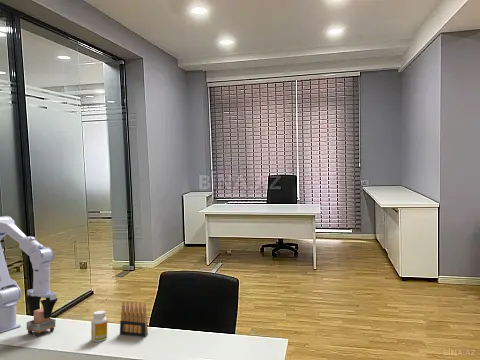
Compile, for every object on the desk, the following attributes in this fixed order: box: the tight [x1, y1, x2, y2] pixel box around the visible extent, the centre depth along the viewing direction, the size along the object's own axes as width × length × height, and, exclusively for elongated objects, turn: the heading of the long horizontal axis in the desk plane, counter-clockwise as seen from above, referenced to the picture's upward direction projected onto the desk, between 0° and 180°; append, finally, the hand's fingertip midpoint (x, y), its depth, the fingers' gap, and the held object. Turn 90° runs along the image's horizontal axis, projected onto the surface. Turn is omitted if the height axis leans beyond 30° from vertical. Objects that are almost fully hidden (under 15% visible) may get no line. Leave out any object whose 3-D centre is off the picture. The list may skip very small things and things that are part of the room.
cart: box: [26, 317, 56, 337], centre depth 144 cm, size 7×7×4 cm
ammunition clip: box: [119, 301, 149, 338], centre depth 142 cm, size 11×2×12 cm, turn 76°
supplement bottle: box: [90, 310, 108, 343], centre depth 137 cm, size 5×5×10 cm
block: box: [33, 307, 51, 324], centre depth 144 cm, size 4×4×6 cm
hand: (41, 316), depth 144 cm, fingers open, 7 cm apart
